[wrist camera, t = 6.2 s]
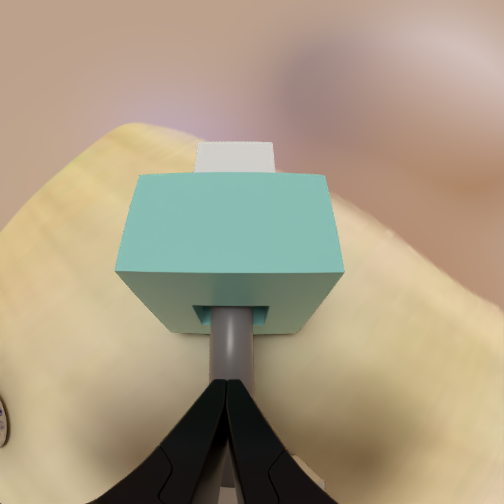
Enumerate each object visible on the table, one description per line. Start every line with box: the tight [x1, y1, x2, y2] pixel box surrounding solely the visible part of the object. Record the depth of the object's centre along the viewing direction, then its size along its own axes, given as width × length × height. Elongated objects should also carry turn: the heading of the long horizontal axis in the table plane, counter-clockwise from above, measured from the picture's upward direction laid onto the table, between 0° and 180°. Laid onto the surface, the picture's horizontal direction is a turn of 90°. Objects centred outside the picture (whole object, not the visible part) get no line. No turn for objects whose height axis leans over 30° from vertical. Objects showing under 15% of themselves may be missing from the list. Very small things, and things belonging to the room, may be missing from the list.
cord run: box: [194, 142, 325, 504], centre depth 14 cm, size 20×7×7 cm, turn 1°
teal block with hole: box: [115, 172, 345, 334], centre depth 13 cm, size 4×7×8 cm, turn 91°
